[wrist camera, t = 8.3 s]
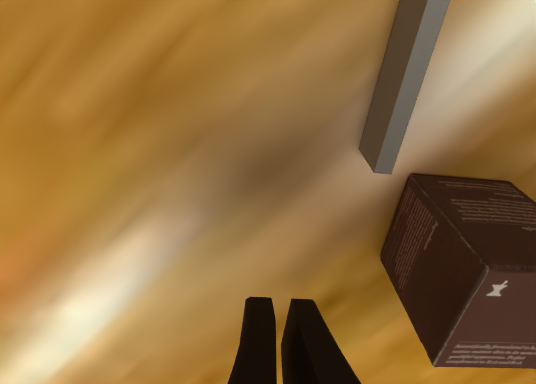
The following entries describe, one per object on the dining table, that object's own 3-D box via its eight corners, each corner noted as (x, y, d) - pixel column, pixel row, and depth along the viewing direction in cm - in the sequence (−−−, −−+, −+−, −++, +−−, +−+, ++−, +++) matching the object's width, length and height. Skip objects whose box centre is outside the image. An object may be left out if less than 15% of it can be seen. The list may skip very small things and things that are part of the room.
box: (376, 257, 23) (427, 369, 16) (408, 169, 20) (487, 266, 13) (468, 263, 23) (552, 372, 17) (513, 180, 20) (635, 275, 14)
